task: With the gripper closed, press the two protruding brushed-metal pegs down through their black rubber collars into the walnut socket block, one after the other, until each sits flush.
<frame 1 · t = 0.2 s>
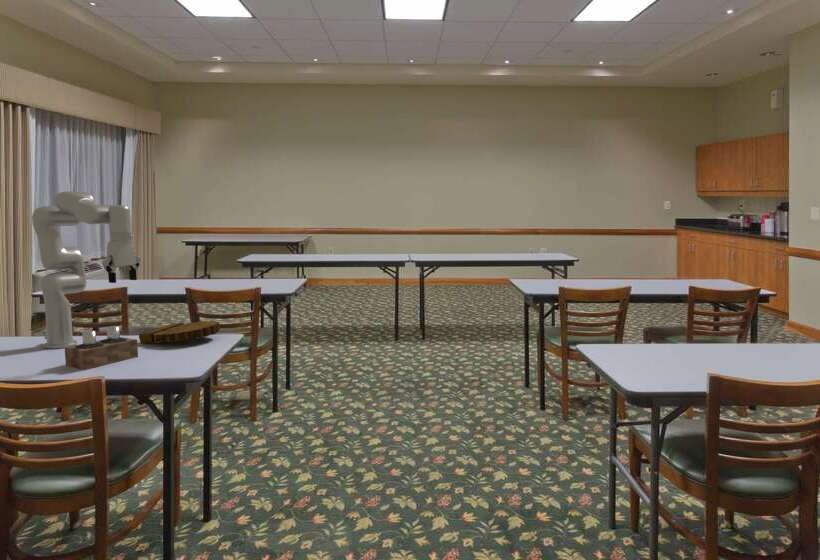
hand: (123, 281, 228), 31 cm above the table, fingers open, 9 cm apart
peg near: (89, 341, 222), point 9 cm above the table, slide at 5.0 cm
peg far: (113, 336, 230), point 9 cm above the table, slide at 5.0 cm
socket block: (103, 361, 227), on the table
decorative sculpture: (185, 340, 265), on the table
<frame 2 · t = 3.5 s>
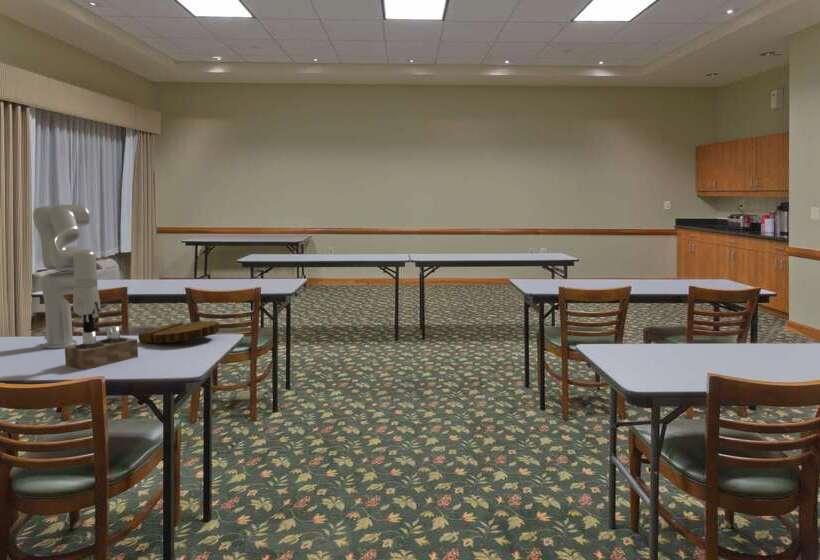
hand: (89, 331, 221), 13 cm above the table, fingers closed
peg near: (89, 341, 222), point 9 cm above the table, slide at 4.9 cm, touching gripper
everything else where it was.
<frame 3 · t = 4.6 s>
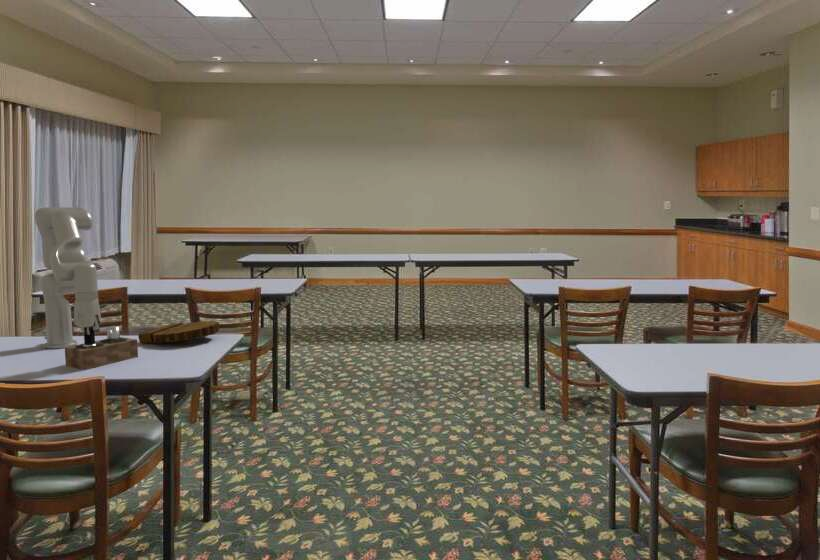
hand: (89, 344, 222), 8 cm above the table, fingers closed
peg near: (90, 353, 222), point 4 cm above the table, slide at 0.2 cm, touching gripper
everything else where it was.
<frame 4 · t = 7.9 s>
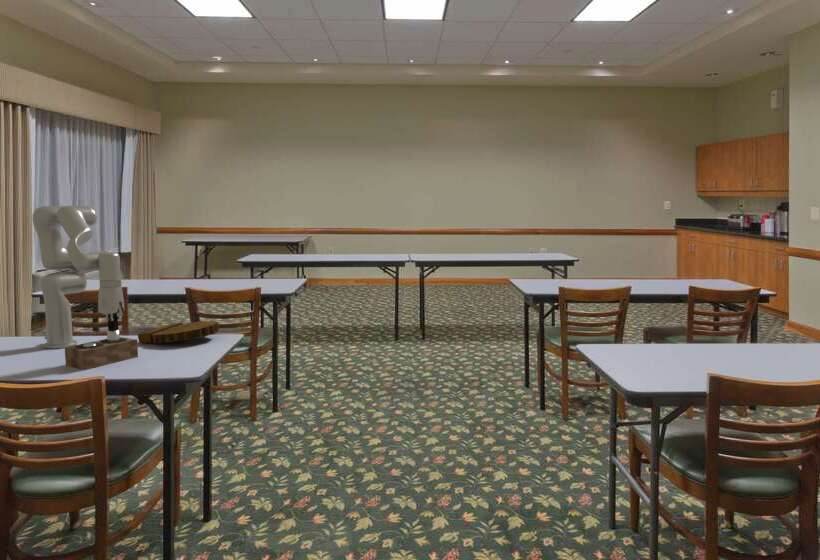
hand: (113, 330, 230), 11 cm above the table, fingers closed
peg near: (90, 354, 222), point 4 cm above the table, slide at 0.1 cm
peg far: (113, 339, 231), point 8 cm above the table, slide at 3.7 cm, touching gripper
everything else where it was.
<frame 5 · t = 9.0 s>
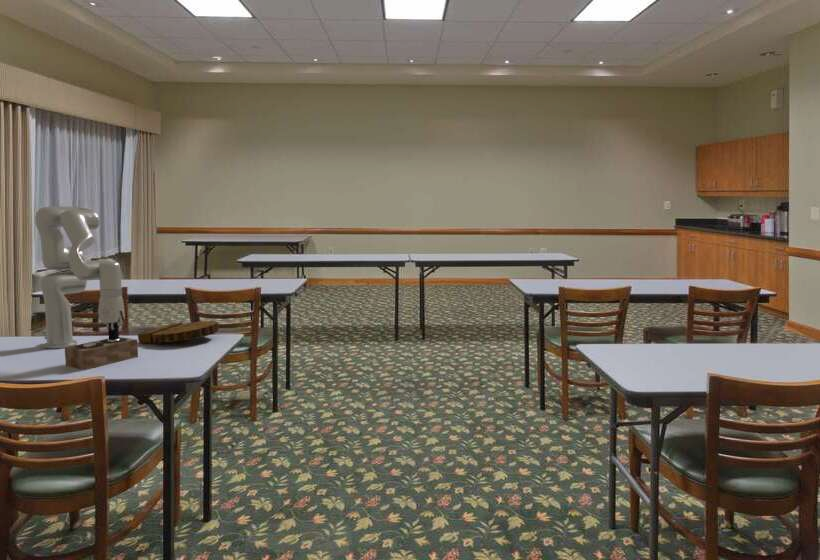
hand: (113, 339, 231), 8 cm above the table, fingers closed
peg far: (114, 348, 231), point 4 cm above the table, slide at 0.1 cm, touching gripper
everything else where it was.
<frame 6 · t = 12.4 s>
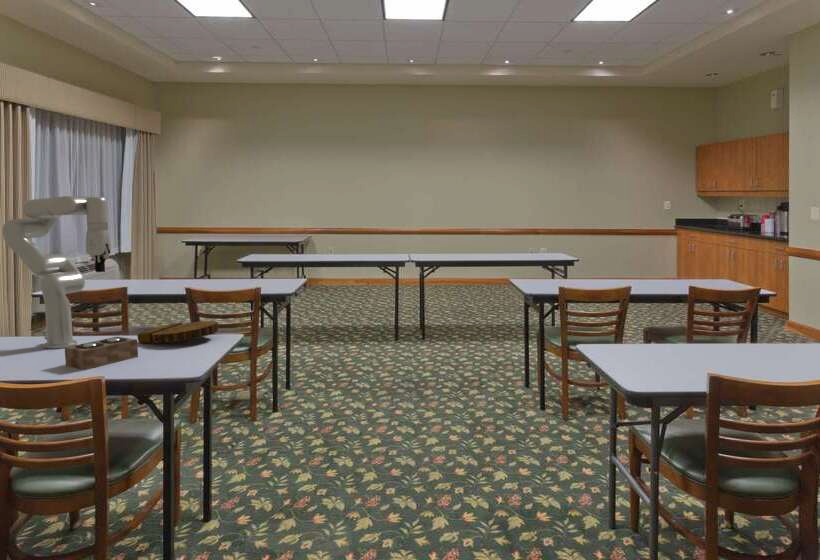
hand: (100, 271, 241), 33 cm above the table, fingers closed
peg far: (114, 348, 231), point 4 cm above the table, slide at 0.1 cm
everything else where it was.
at the end: peg near slide at 0.1 cm; peg far slide at 0.1 cm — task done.
